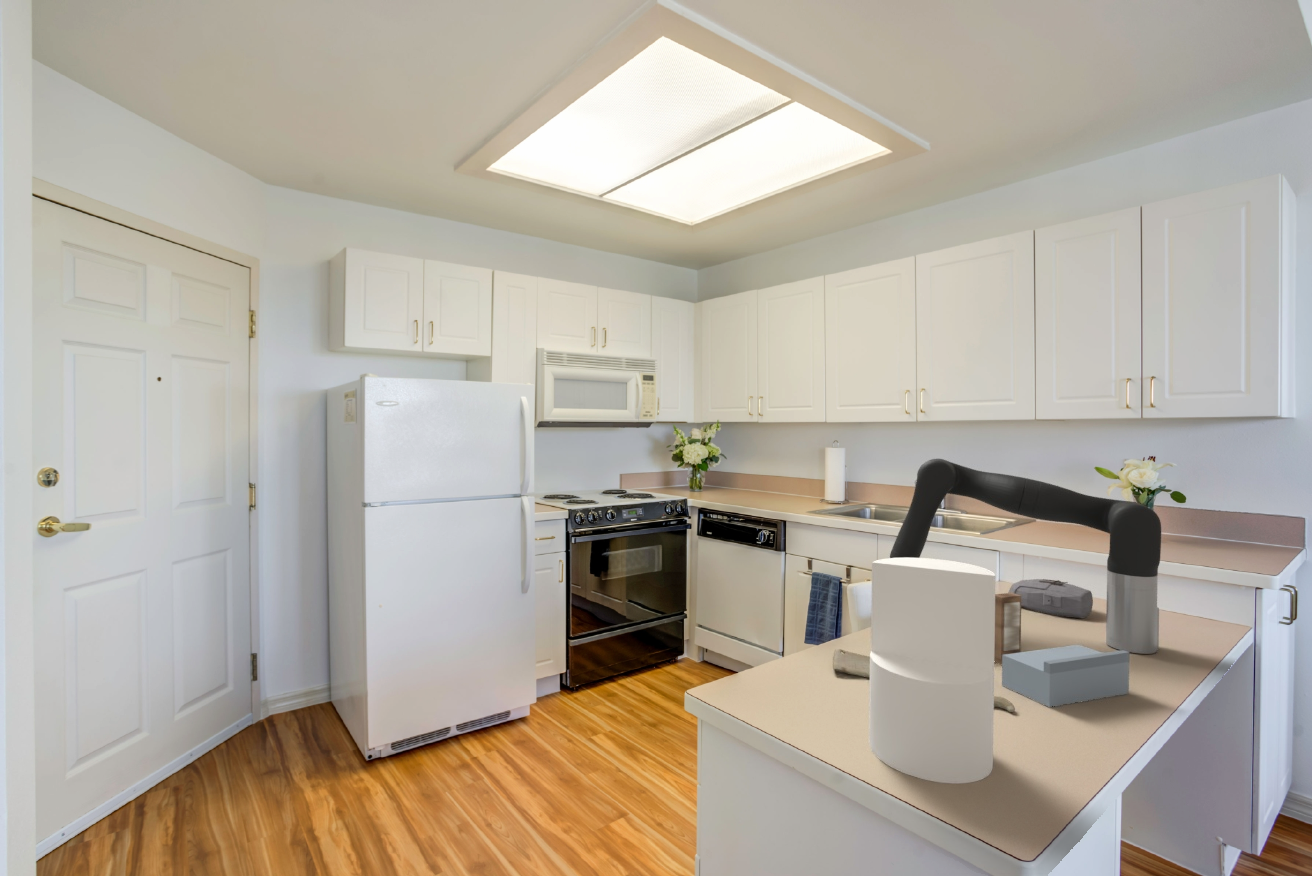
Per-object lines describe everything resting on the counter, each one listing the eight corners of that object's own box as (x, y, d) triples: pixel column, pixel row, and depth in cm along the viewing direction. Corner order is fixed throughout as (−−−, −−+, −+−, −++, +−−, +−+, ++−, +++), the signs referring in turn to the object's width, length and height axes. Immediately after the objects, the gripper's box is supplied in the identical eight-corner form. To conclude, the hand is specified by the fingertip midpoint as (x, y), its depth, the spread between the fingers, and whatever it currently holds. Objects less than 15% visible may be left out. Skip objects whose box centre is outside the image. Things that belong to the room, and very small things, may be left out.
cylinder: (880, 716, 107) (882, 553, 107) (995, 742, 99) (997, 565, 98) (857, 761, 92) (859, 572, 92) (990, 797, 84) (993, 588, 83)
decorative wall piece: (838, 704, 114) (1018, 719, 108) (838, 688, 114) (1018, 702, 108) (827, 647, 144) (967, 656, 138) (827, 634, 144) (967, 643, 138)
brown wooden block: (1003, 654, 138) (1004, 590, 138) (1027, 664, 132) (1028, 597, 132) (984, 657, 136) (985, 592, 136) (1007, 667, 130) (1008, 599, 130)
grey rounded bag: (1098, 612, 173) (1018, 597, 187) (1098, 582, 172) (1018, 569, 187) (1082, 623, 162) (999, 606, 177) (1082, 591, 162) (999, 577, 177)
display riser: (1077, 673, 127) (1078, 635, 127) (1128, 693, 118) (1129, 652, 118) (1001, 685, 121) (1002, 645, 121) (1049, 707, 111) (1049, 663, 111)
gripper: (914, 587, 151) (967, 604, 135) (961, 583, 155) (1017, 599, 140) (914, 618, 151) (966, 639, 135) (961, 613, 155) (1017, 633, 140)
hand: (992, 619), depth 137 cm, fingers open, 8 cm apart
